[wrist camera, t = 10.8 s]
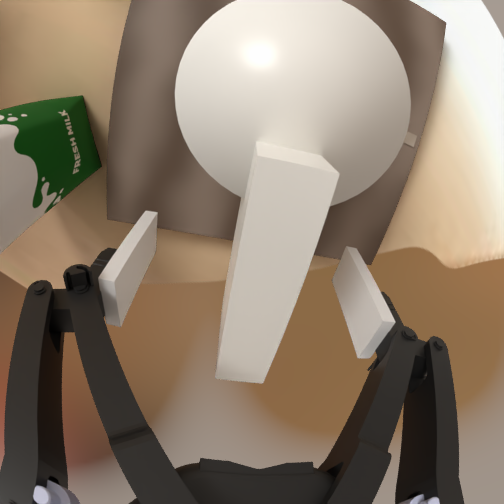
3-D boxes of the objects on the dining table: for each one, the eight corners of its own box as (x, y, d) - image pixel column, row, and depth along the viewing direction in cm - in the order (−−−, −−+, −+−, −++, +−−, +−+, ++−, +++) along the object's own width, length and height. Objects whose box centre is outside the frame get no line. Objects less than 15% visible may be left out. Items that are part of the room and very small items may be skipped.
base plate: (116, 209, 24) (107, 220, 22) (157, -44, 11) (149, -53, 10) (364, 253, 27) (371, 265, 25) (433, 25, 14) (447, 22, 12)
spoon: (212, 0, 9) (187, -52, 4) (390, 45, 10) (463, 33, 5) (174, 294, 18) (153, 367, 13) (306, 312, 19) (320, 386, 14)
